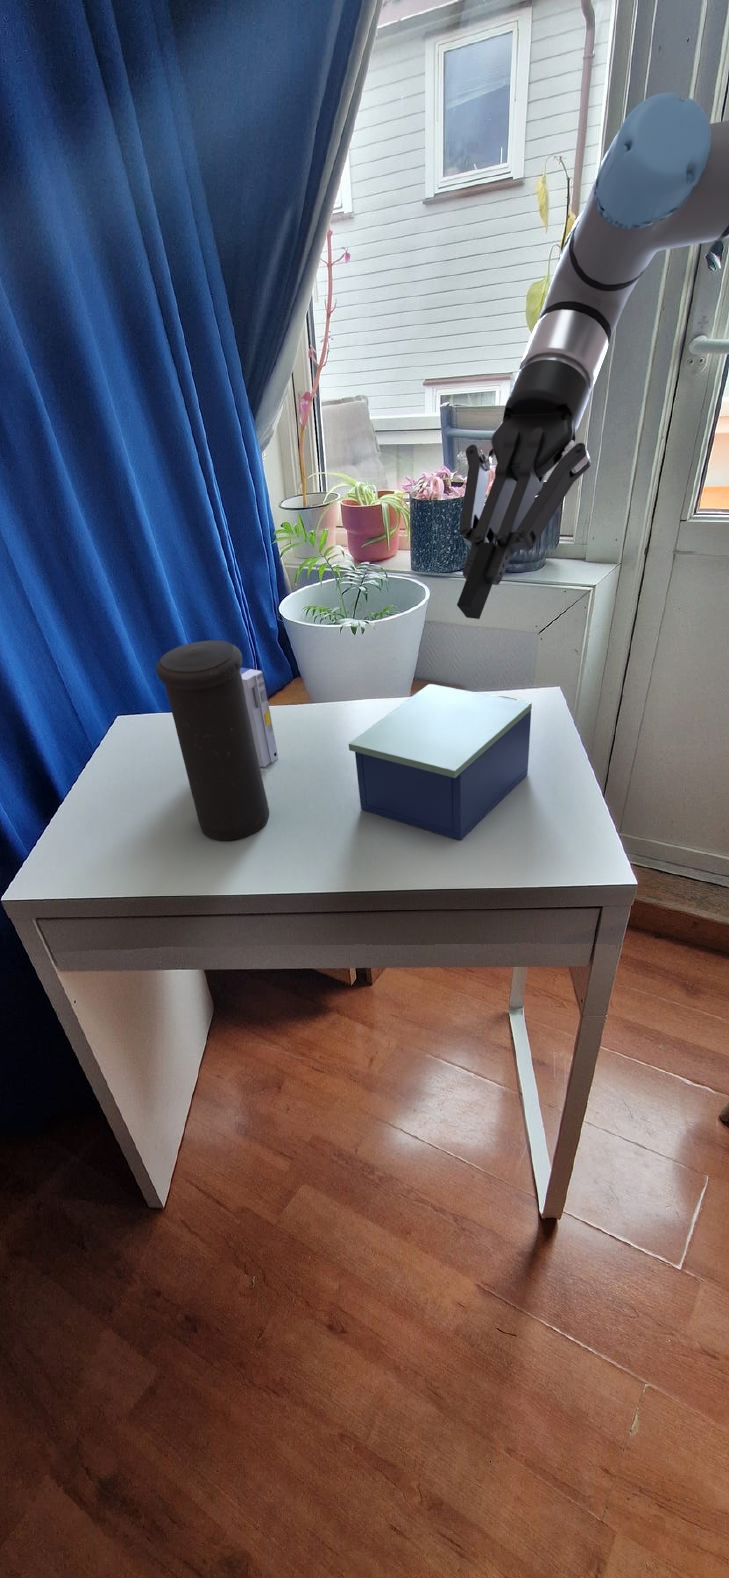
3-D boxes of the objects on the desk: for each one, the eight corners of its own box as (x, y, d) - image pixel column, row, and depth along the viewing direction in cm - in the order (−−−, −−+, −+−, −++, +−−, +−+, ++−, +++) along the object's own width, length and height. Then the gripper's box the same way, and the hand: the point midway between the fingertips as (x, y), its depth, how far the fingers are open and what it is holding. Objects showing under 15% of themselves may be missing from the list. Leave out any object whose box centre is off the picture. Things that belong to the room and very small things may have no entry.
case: (460, 840, 78) (460, 774, 73) (360, 809, 85) (354, 746, 80) (527, 774, 86) (531, 710, 81) (431, 751, 93) (429, 690, 88)
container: (277, 797, 89) (246, 629, 76) (267, 841, 82) (230, 664, 70) (207, 801, 91) (164, 637, 78) (191, 845, 84) (142, 672, 71)
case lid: (455, 778, 72) (455, 771, 72) (349, 750, 79) (348, 743, 79) (531, 709, 81) (532, 702, 80) (429, 690, 88) (429, 683, 87)
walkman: (220, 756, 99) (199, 668, 91) (234, 746, 101) (215, 659, 93) (265, 768, 95) (247, 677, 87) (279, 758, 96) (263, 668, 89)
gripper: (626, 407, 74) (538, 636, 76) (505, 412, 81) (427, 622, 83) (611, 348, 68) (516, 600, 69) (482, 360, 75) (398, 588, 76)
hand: (468, 611), depth 76 cm, fingers closed
